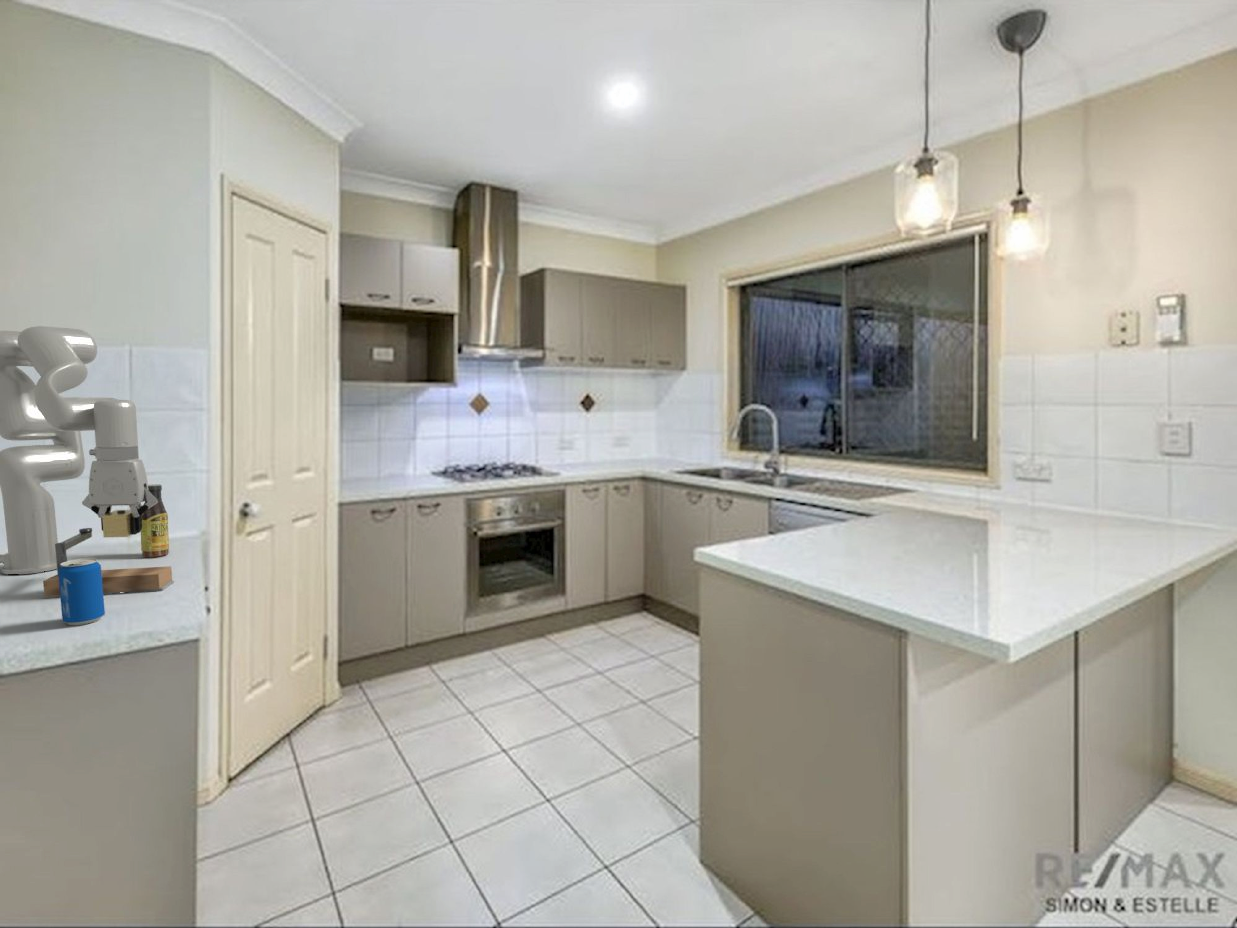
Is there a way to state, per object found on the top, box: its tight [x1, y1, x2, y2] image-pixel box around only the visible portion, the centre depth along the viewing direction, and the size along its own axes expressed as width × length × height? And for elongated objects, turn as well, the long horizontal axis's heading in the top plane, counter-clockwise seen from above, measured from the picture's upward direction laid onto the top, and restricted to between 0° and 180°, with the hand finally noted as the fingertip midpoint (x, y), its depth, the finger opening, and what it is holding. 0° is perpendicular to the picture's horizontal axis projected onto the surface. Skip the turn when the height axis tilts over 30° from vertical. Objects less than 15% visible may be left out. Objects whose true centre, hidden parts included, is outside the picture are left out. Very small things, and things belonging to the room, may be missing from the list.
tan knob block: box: [102, 509, 132, 538], centre depth 146 cm, size 5×6×5 cm
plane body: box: [42, 565, 175, 599], centre depth 147 cm, size 23×7×4 cm, turn 105°
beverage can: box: [57, 557, 106, 626], centre depth 126 cm, size 6×6×12 cm
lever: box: [55, 527, 93, 574], centre depth 150 cm, size 16×2×8 cm, turn 21°
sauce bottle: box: [140, 483, 170, 559], centre depth 177 cm, size 7×6×20 cm
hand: (122, 532), depth 147 cm, fingers closed on tan knob block, 4 cm apart
